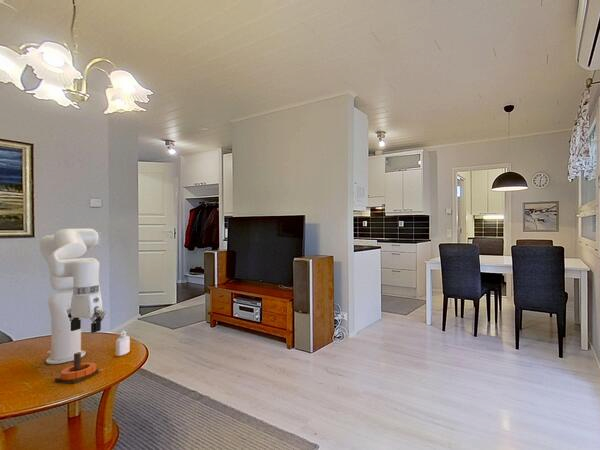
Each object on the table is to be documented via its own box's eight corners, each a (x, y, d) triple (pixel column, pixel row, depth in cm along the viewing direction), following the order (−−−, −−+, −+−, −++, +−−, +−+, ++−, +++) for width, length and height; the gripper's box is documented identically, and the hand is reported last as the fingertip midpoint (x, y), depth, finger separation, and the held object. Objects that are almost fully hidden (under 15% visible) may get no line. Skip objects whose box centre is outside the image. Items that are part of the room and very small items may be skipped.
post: (54, 381, 123) (54, 357, 123) (80, 371, 132) (80, 348, 132) (73, 383, 122) (74, 358, 122) (98, 372, 131) (98, 349, 131)
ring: (53, 378, 123) (53, 372, 123) (82, 367, 133) (82, 361, 133) (74, 380, 122) (74, 374, 122) (102, 368, 132) (102, 363, 132)
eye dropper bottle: (131, 352, 151) (132, 328, 151) (116, 357, 146) (117, 332, 146) (128, 350, 153) (128, 327, 153) (113, 355, 148) (113, 330, 148)
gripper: (113, 289, 129) (113, 329, 130) (78, 286, 132) (78, 326, 132) (94, 293, 122) (93, 335, 122) (57, 290, 124) (56, 332, 124)
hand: (85, 330), depth 127 cm, fingers open, 9 cm apart
